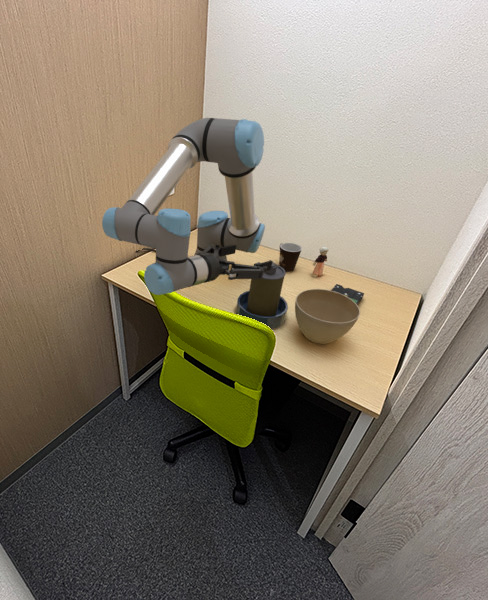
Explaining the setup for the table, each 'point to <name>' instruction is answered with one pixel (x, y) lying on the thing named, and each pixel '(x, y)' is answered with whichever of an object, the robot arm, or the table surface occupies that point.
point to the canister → (266, 292)
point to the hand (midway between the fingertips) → (252, 256)
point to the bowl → (269, 321)
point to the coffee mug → (289, 256)
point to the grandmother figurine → (320, 262)
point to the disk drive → (349, 293)
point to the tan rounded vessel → (325, 314)
